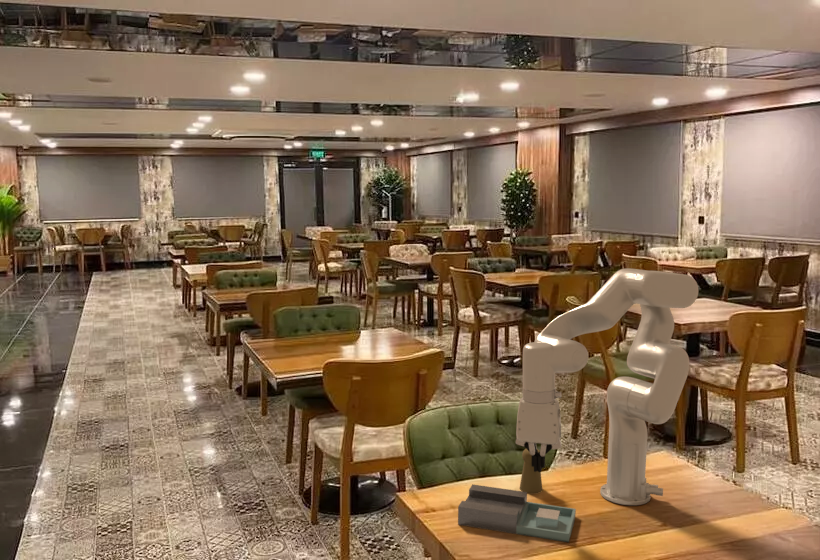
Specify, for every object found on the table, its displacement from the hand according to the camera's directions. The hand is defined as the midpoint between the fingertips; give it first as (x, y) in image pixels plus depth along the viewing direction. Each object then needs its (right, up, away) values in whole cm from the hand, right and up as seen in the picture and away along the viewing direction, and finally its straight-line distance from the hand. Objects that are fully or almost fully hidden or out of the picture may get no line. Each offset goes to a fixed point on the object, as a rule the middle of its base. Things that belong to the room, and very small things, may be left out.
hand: (538, 469), depth 173 cm
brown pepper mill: (+2, -11, +21) cm, 24 cm away
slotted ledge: (-10, -13, +4) cm, 17 cm away
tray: (+2, -13, 0) cm, 13 cm away
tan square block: (+2, -10, 0) cm, 11 cm away
